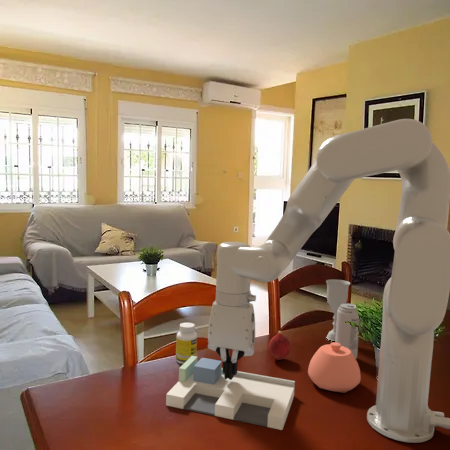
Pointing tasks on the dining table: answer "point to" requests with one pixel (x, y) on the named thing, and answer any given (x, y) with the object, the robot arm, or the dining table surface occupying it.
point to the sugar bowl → (334, 368)
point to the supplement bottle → (186, 342)
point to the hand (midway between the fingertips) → (229, 376)
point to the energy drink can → (347, 327)
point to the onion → (279, 346)
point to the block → (207, 370)
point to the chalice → (336, 300)
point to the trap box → (234, 396)
